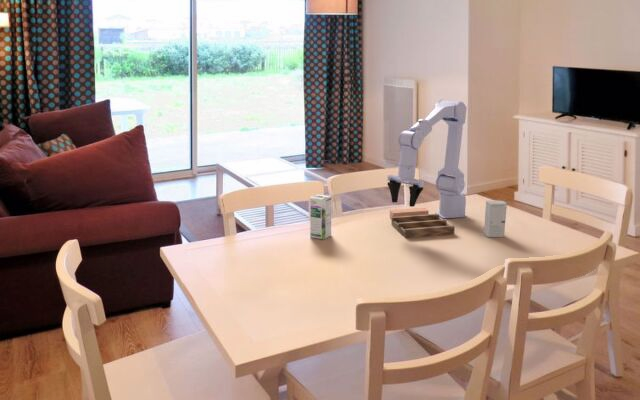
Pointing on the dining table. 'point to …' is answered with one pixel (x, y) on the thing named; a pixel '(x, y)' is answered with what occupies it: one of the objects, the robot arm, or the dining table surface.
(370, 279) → the dining table surface
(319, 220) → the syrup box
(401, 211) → the clay strip
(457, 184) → the robot arm
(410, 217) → the rack
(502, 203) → the skincare box
